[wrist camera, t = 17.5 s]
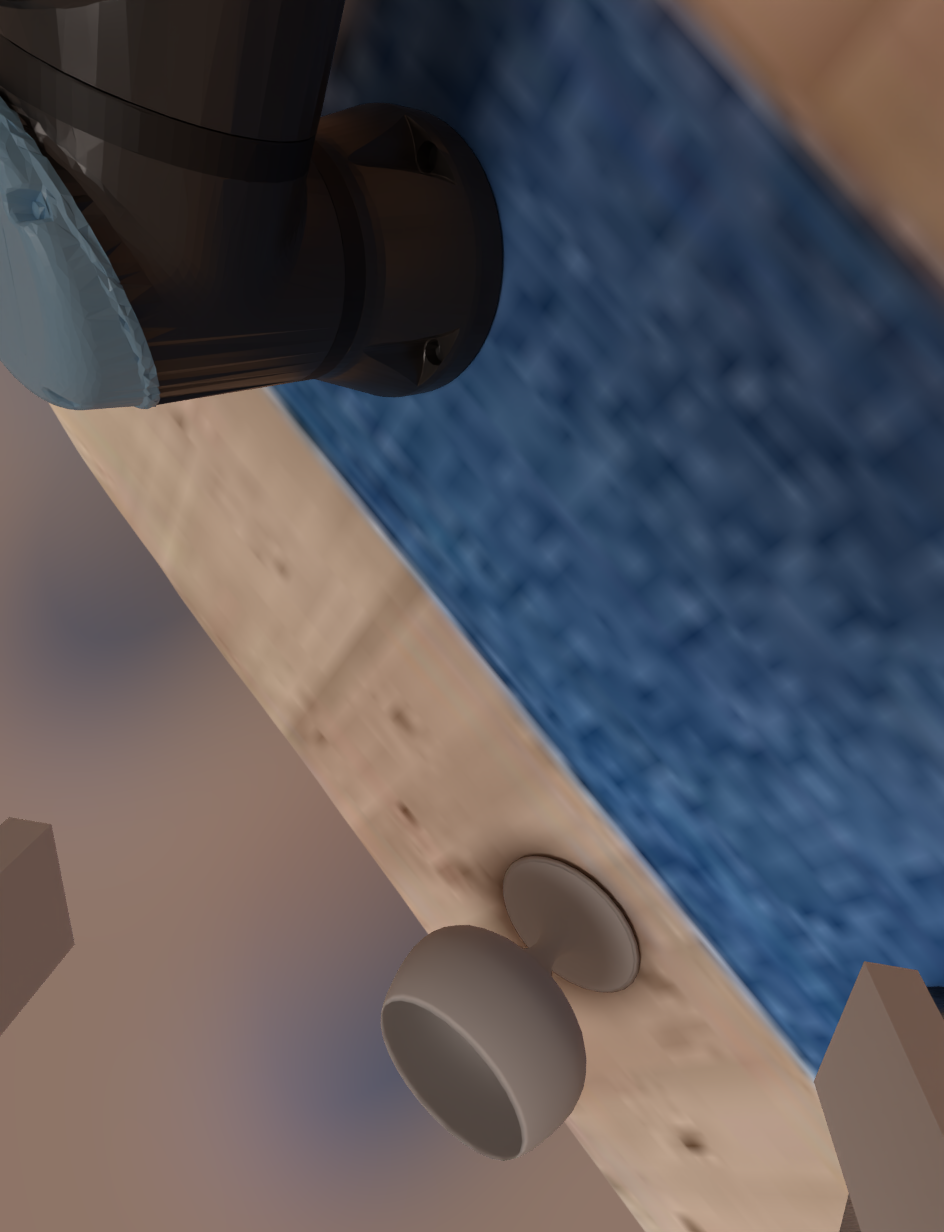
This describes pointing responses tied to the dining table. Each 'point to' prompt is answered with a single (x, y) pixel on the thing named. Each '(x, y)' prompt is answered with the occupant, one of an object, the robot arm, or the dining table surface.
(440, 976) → the chalice
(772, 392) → the dining table surface
